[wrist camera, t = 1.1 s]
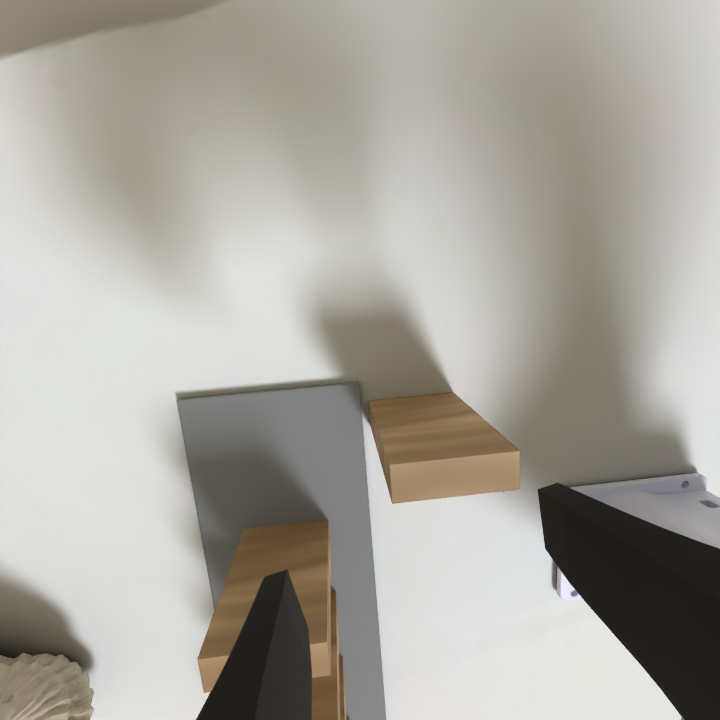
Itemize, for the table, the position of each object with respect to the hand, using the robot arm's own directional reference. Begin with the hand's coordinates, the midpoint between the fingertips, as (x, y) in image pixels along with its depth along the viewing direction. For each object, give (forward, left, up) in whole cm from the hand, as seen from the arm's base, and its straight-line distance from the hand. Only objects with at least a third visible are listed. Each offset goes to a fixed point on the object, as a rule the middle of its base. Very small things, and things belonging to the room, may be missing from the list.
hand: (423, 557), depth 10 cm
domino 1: (+6, +7, -12) cm, 15 cm away
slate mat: (+6, +12, -12) cm, 18 cm away
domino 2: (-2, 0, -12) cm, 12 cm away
